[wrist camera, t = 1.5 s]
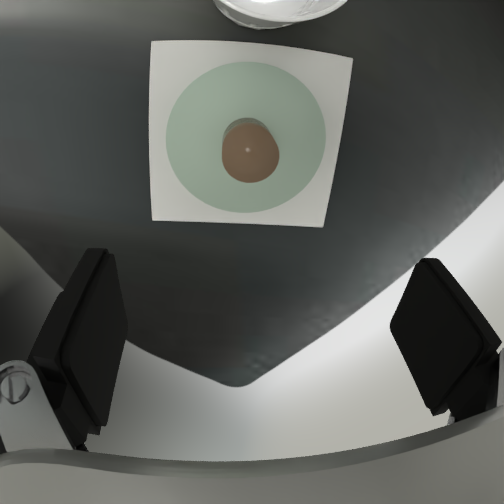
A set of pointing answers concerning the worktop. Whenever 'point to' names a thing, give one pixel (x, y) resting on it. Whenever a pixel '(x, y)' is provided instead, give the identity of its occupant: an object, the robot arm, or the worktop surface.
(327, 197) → the mat
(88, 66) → the worktop surface
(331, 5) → the white cup
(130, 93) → the worktop surface
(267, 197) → the lid
